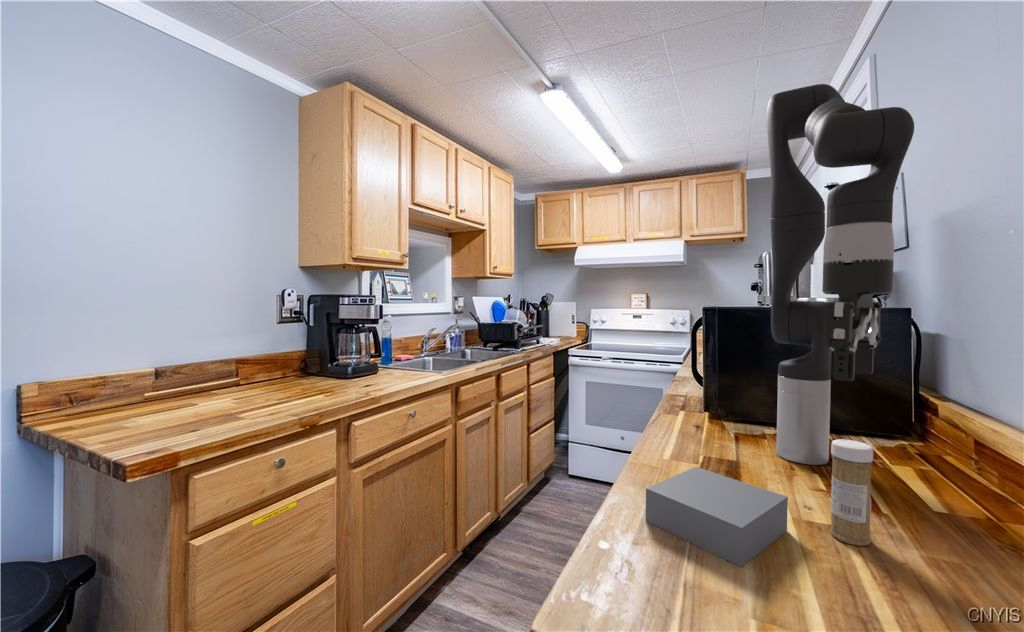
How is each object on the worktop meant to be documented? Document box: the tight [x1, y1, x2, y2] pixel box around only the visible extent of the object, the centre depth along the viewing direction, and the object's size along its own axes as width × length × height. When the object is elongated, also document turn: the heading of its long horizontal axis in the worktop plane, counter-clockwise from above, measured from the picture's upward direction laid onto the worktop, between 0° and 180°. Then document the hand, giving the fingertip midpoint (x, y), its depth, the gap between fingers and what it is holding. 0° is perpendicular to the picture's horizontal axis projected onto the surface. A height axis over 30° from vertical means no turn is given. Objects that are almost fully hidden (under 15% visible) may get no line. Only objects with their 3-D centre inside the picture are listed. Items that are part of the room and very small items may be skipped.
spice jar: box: [829, 438, 874, 547], centre depth 59 cm, size 5×5×13 cm
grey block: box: [645, 466, 789, 568], centre depth 63 cm, size 14×14×5 cm
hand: (853, 376), depth 59 cm, fingers open, 8 cm apart
